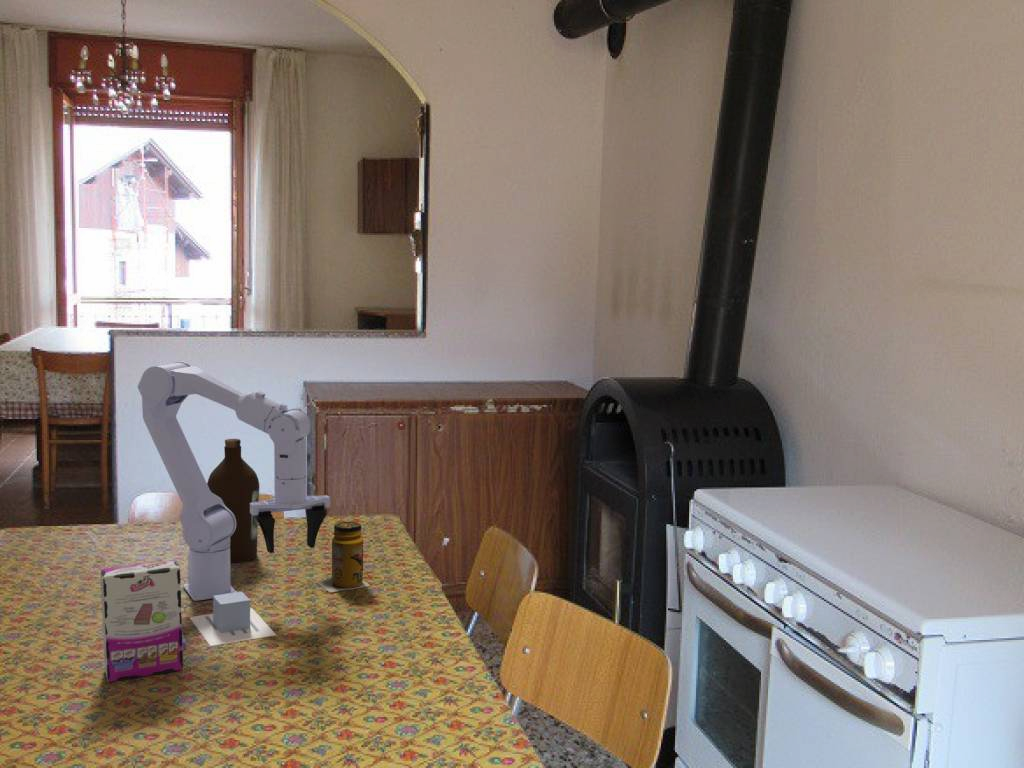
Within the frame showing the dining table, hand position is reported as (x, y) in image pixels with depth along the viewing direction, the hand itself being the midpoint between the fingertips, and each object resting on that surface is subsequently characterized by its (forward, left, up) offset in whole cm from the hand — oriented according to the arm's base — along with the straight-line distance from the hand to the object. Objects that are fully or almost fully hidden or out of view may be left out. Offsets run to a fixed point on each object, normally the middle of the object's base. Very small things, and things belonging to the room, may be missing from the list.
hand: (290, 549), depth 191 cm
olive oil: (-32, -2, -10) cm, 34 cm away
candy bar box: (+21, -30, -10) cm, 38 cm away
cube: (+8, -13, -10) cm, 18 cm away
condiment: (-5, +12, -10) cm, 17 cm away
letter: (+8, -13, -10) cm, 18 cm away
